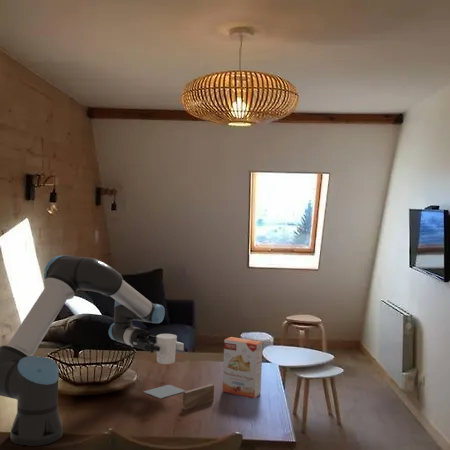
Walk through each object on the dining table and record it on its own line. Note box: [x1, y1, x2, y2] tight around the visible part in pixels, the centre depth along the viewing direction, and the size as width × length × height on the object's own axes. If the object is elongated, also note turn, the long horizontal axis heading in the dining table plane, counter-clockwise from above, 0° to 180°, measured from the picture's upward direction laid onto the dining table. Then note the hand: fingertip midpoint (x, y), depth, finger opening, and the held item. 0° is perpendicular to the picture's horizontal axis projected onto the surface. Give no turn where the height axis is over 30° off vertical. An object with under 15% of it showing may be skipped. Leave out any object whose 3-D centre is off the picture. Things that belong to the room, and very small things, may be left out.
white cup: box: [155, 333, 178, 365], centre depth 219 cm, size 8×8×10 cm
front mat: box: [143, 384, 186, 400], centre depth 220 cm, size 10×13×1 cm
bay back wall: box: [182, 383, 215, 411], centre depth 207 cm, size 2×14×6 cm, turn 137°
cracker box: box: [221, 336, 263, 399], centre depth 221 cm, size 14×6×21 cm, turn 62°
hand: (174, 348), depth 216 cm, fingers closed on white cup, 8 cm apart
